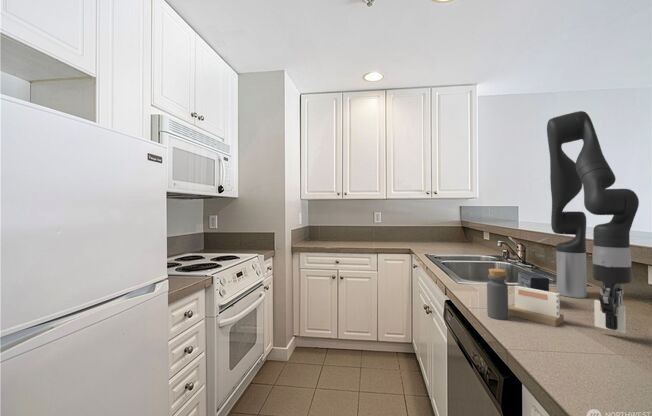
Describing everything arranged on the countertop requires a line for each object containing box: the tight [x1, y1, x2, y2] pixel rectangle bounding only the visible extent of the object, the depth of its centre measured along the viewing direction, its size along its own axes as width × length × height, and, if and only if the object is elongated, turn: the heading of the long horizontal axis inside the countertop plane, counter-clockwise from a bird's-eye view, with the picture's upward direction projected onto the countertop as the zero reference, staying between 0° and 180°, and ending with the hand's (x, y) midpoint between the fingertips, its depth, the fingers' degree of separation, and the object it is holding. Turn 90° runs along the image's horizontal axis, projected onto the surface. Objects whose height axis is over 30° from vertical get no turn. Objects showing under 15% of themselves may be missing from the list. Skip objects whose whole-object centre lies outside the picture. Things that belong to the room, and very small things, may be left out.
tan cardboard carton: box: [508, 285, 565, 327], centre depth 95 cm, size 14×7×9 cm, turn 35°
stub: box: [593, 299, 627, 334], centre depth 80 cm, size 6×1×7 cm, turn 35°
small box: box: [517, 271, 550, 292], centre depth 110 cm, size 11×6×10 cm, turn 168°
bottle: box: [486, 268, 509, 321], centre depth 96 cm, size 6×6×15 cm
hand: (612, 327), depth 80 cm, fingers closed
